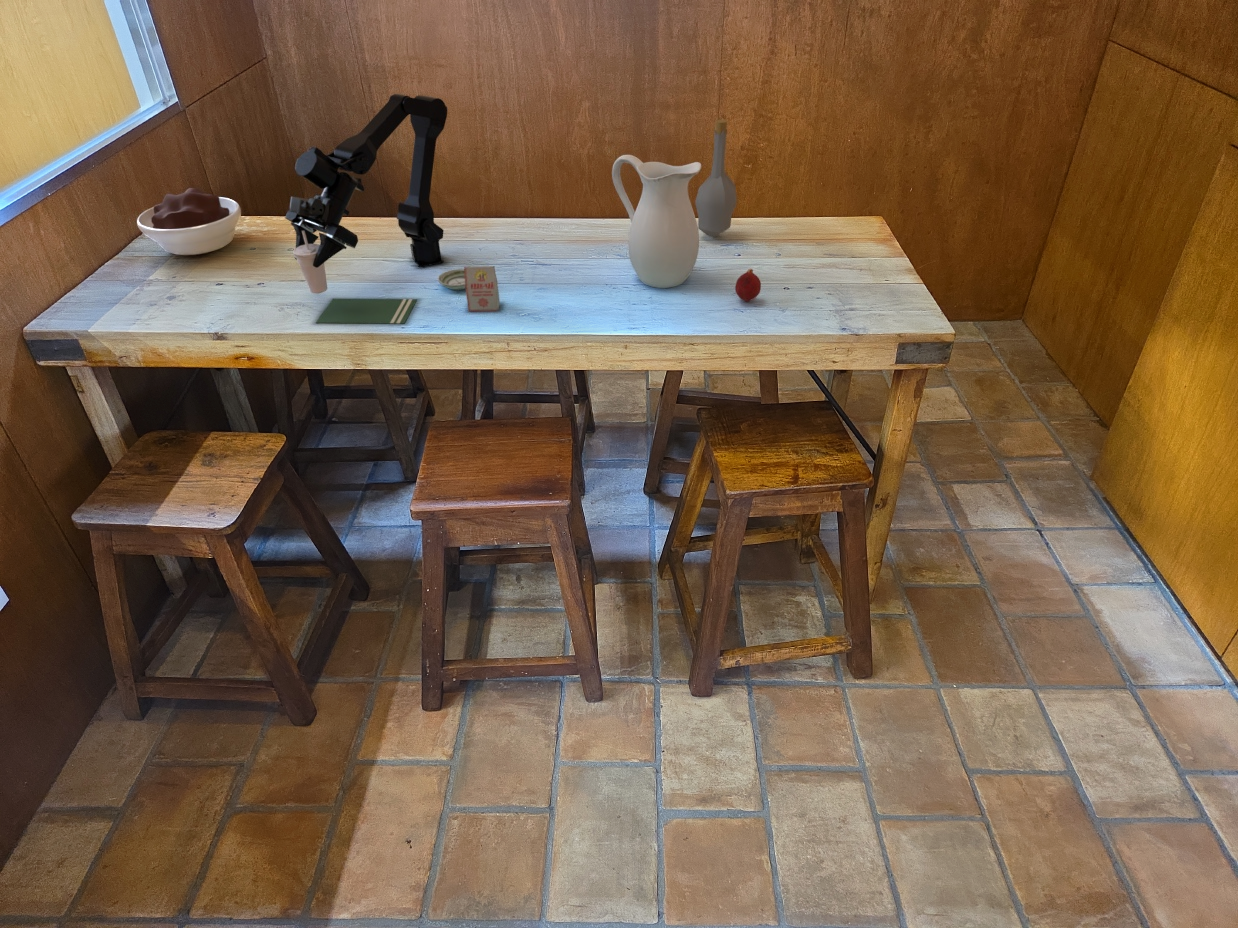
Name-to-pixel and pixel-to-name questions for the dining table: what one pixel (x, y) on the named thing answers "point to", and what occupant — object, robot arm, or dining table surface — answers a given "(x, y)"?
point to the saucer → (453, 279)
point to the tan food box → (481, 288)
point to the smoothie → (311, 266)
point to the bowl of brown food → (191, 222)
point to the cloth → (367, 311)
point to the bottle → (716, 190)
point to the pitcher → (661, 222)
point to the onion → (748, 286)
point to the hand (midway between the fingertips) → (305, 263)
